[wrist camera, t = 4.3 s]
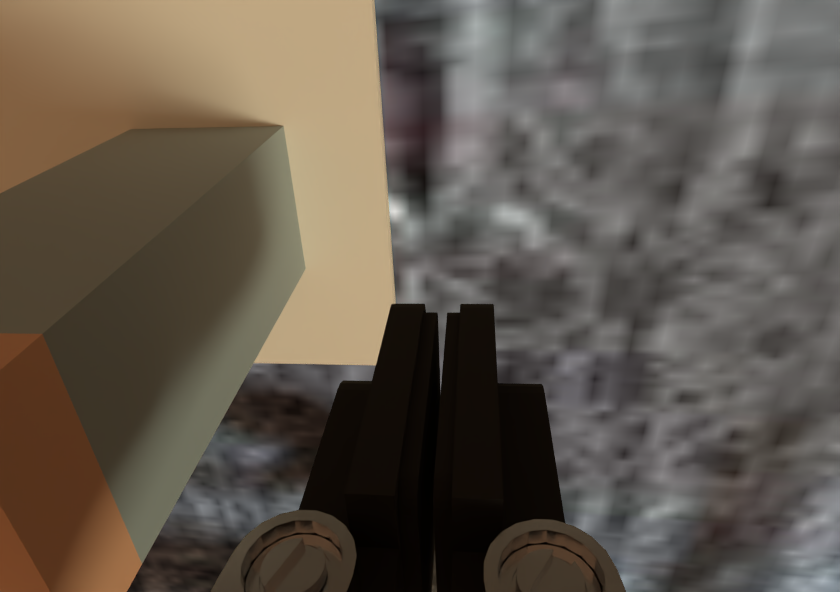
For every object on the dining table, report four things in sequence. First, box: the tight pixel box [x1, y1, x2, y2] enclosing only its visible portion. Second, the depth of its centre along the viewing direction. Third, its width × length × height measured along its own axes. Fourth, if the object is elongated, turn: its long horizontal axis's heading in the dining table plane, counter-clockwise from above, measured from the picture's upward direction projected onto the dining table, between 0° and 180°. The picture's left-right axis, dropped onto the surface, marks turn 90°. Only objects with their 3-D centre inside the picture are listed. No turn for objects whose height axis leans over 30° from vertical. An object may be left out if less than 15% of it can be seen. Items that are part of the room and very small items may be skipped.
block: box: [0, 126, 306, 592], centre depth 12 cm, size 4×4×12 cm
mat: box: [0, 0, 396, 365], centre depth 18 cm, size 12×23×1 cm, turn 92°
